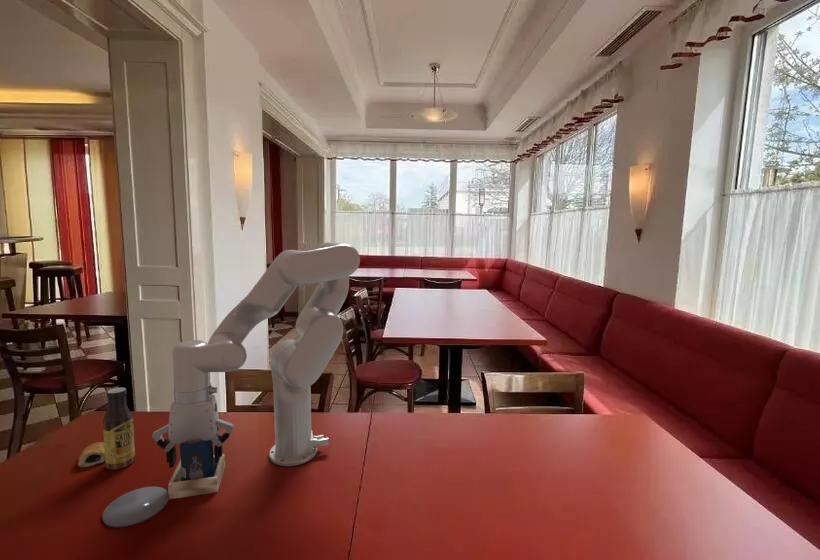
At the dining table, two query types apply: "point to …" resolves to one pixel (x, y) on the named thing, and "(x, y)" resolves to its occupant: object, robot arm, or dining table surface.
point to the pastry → (92, 455)
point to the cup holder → (196, 482)
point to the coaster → (135, 507)
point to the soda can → (197, 460)
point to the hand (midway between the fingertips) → (195, 461)
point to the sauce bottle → (118, 431)
